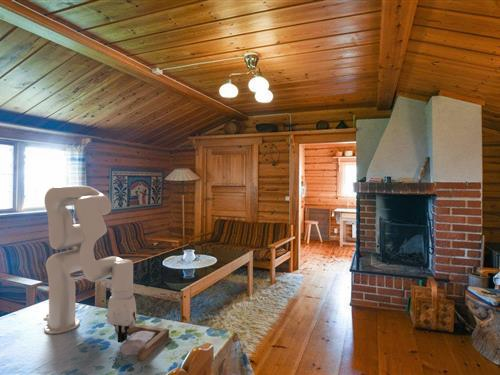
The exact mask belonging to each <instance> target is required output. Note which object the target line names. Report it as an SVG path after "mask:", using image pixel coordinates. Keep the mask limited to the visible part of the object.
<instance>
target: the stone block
mask: <svg viewBox="0 0 500 375" xmlns="http://www.w3.org/2000/svg"><path fill="white" fill-rule="evenodd" d="M155 336H156V335H155V332H154V333H153V332H148V331H140V332H136V333H131V335H130V336H127V339H126V340H125V341H124V342H122V343H121V345H120V348H119V349H120V353H121V354H122V355H124V356H125V355H126V356H138V351H139V350H140V349H142V348H143V347H144V346H145V345H146V344H147V343H148V342H150V341H151V340H152V339H153V338H154V337H155Z"/></svg>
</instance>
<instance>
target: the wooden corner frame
mask: <svg viewBox="0 0 500 375" xmlns="http://www.w3.org/2000/svg"><path fill="white" fill-rule="evenodd" d="M114 331H116V328H115V327H114ZM140 331H148V332H153V333H154V332H155V335H156V336H155V337H154V338H153V339H152V340H151V341H150V342H148V343H147V344H146V345H145V346H144V347H143V348H142V349H140V350H139V351H138V355H137V360H138V361H141V362H144V361H145V360H146V359H147V358H148V357H149V356H150V355H151V354H152V353H154V351H155V350H156V349H157V348H158V347H160V346H161V345H162V344H163V343H164V342H165V341H166V340H167V339H168V338H169V337H170V329H168V328H164V327H158V326H151V325H144V324H141V323H140V324H139V323H135V327H133V328H129V329H128V330H127V334H128V333H129V334H133V333H136V332H140Z"/></svg>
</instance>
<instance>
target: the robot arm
mask: <svg viewBox="0 0 500 375" xmlns="http://www.w3.org/2000/svg"><path fill="white" fill-rule="evenodd" d="M69 206H71V207H72V206H73V207H74V212H75V214H76V217H77V220H78V223H77V224H73V215H72V213H71V211H70V209H68V207H69ZM44 207H45V210H46V214H47V219H48V221H47V222H48V241H49V245H50V247H51V248H52V249H53V250H65V249H70V248H73V249H71V250H65V251H62V252H56V253H53V254H52V255H51V256H49V257H47V260H46V262H45V268H46V273H47V279H48V313H47V314H46V317H43V321H45V322H47V324H46V325H45V326H44V332H45V333H46V334H50V335H57V334H63V333H68V332H70V331H72V330H75V329H76V328H78V327H79V325H80V322H81V321H80V319H79V318H77V317H76V282H75V281H76V280H75V279H74V278H73V277H72V276H71V274H73V273H76V272H78V271H82V273H83V274H84V277H85V279H86V280H88V281H89V282H92V283H96V282H99V281H102V280H105V279H107V278H111V288H109V292H110V293H111V296H110V297H109V300H108V302H107V312H106V313H107V314H106V321H107V323H108V324H109V325H112V326H113V327H114V329H115V328H116V330H115V331H116V333H117V343H120V344H123V343H124V342H125V341H126V339H127V338H128V333H127V330H128V329H129V328H133V327H135V324H136V321H137V304H136V299H135V297H136V296H135V295H134V263H133V260H131V259H126V258H124V259H123V258H121V257H119V256H116V255H112V256H111V255H110V256H107V257H105V258H104V257H103V258H100V259H96V258H95V253H94V252H95V251H94V249H95V248H94V247H95V244H96V242H97V241H98V240H99V239H100V238H101V237H104V235H105V234H106V233H107V232H108V228H107V225H106V223H105V220H104V217H103V216H105V215H108V214H109V213H110V212H111V210H112V202H111V200H110V198H109V197H108V196H107V195H106V194H104V193H102V192H101V191H99V190H97V189H96V188H94V187H92V186H89V185H84V184H83V185H79V184H78V185H77V184H75V185H74V184H73V185H72V184H71V185H66V184H64V185H57V186H53V187H51V188H49V189H48V190H47V191H46V193H45V196H44Z"/></svg>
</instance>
